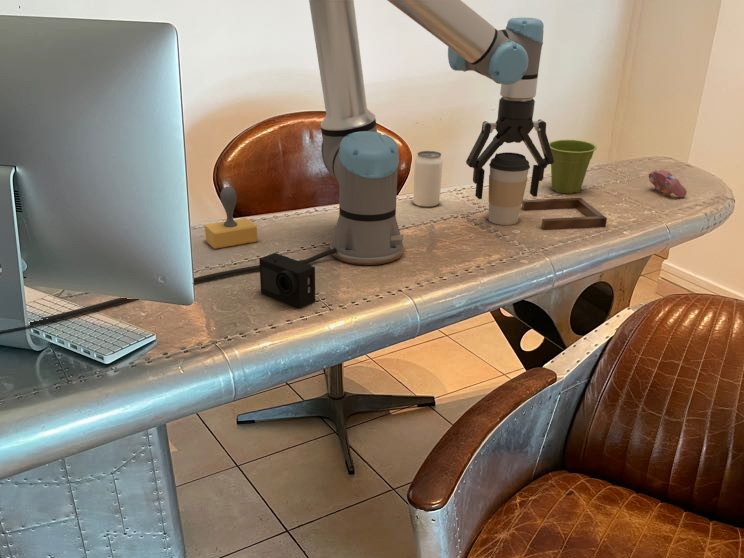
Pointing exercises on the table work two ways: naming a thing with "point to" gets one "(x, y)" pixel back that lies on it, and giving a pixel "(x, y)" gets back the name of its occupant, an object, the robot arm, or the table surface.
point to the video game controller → (667, 183)
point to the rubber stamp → (230, 225)
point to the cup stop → (591, 220)
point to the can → (427, 179)
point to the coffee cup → (507, 187)
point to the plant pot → (570, 164)
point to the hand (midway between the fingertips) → (506, 196)
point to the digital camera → (287, 280)
